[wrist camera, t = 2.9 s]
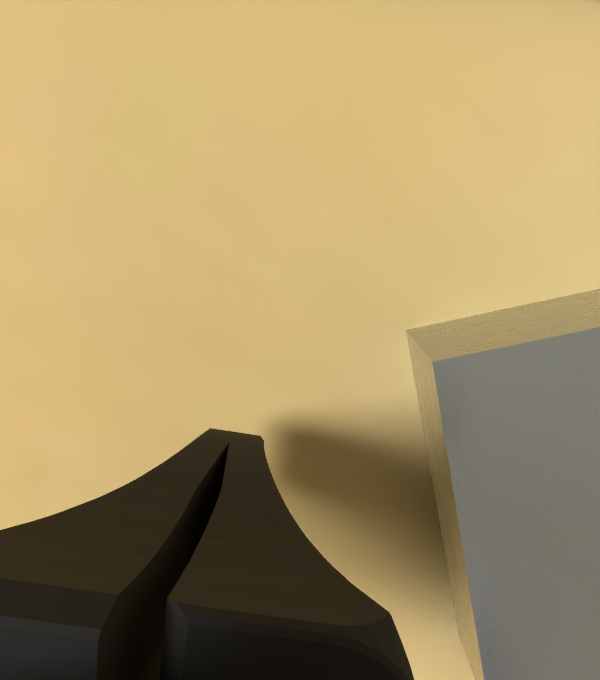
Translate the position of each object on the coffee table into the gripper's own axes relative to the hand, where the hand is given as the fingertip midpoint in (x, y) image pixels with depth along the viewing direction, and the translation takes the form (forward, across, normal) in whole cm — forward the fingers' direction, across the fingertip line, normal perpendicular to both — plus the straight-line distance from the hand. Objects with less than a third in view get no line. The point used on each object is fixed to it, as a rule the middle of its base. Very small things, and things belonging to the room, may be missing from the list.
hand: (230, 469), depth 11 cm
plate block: (+2, -8, 0) cm, 8 cm away
